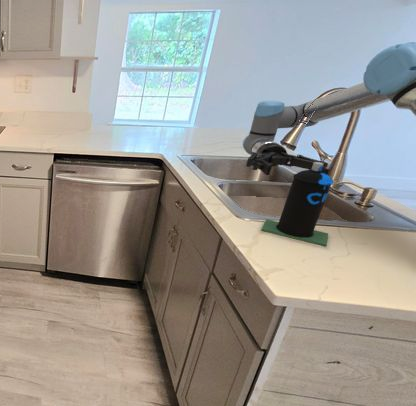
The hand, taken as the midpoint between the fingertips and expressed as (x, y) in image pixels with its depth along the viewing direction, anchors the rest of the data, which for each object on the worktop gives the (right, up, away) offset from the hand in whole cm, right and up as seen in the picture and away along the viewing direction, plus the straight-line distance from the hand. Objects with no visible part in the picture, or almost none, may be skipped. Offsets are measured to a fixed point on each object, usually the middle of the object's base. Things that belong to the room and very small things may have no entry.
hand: (297, 172), depth 105 cm
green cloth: (-2, -17, -2) cm, 18 cm away
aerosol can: (-2, -17, -2) cm, 17 cm away
